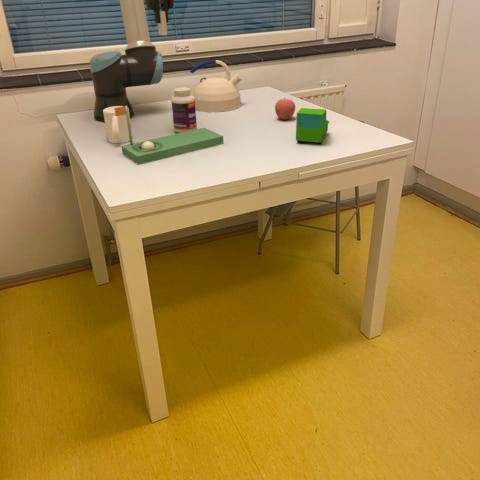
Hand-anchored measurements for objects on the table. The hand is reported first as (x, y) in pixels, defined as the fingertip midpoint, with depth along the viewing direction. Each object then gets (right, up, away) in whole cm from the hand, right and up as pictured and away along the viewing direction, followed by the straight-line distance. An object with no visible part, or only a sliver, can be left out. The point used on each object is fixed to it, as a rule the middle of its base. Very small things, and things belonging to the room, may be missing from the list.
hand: (163, 34), depth 145 cm
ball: (-4, -35, +3) cm, 35 cm away
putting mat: (+2, -34, +7) cm, 34 cm away
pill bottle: (+4, -24, +23) cm, 34 cm away
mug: (-17, -30, +15) cm, 37 cm away
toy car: (+47, -29, +12) cm, 57 cm away
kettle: (+14, -7, +51) cm, 54 cm away
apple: (+40, -18, +32) cm, 54 cm away
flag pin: (-12, -33, +3) cm, 36 cm away
